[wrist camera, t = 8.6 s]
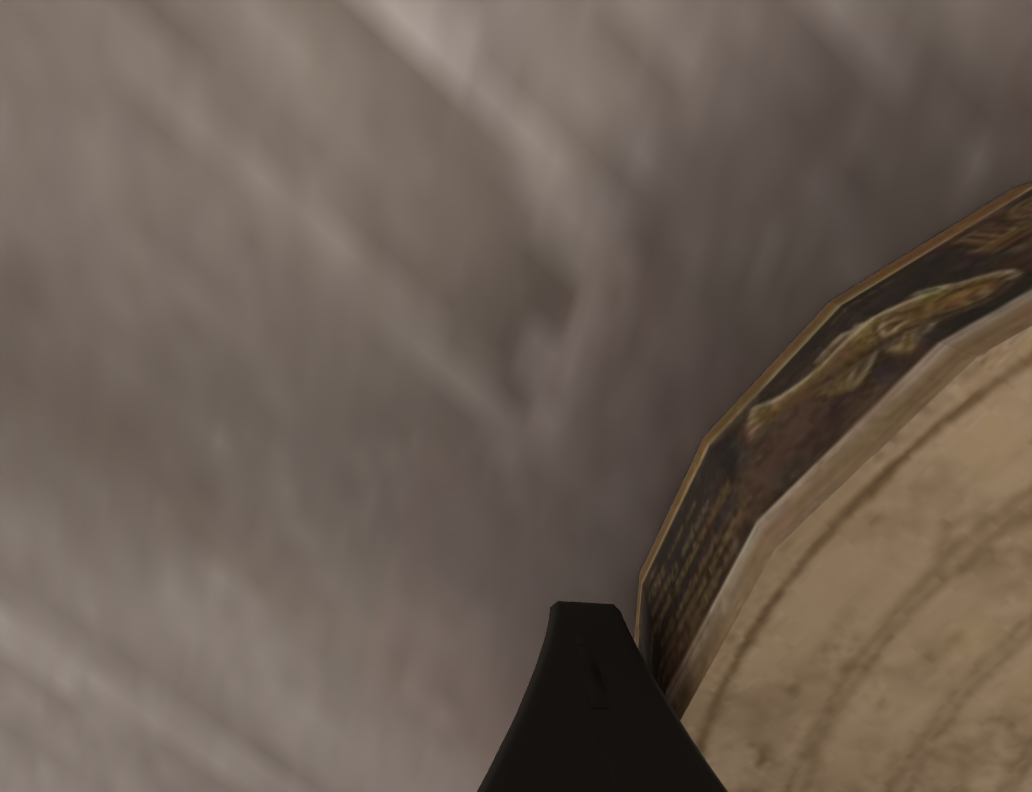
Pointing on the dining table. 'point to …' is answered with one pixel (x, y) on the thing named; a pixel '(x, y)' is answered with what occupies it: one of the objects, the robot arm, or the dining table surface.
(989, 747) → the tin can
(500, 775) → the robot arm
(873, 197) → the dining table surface
